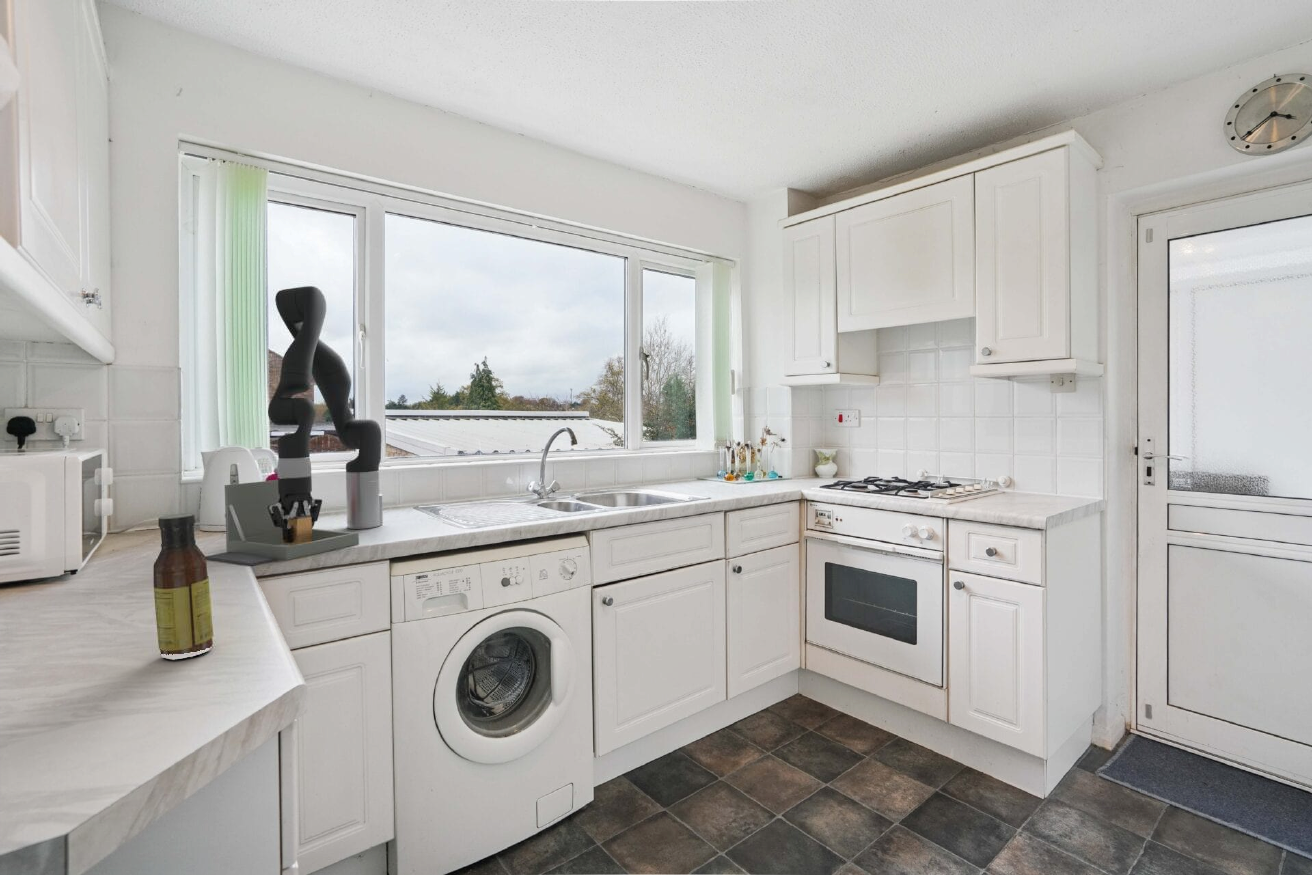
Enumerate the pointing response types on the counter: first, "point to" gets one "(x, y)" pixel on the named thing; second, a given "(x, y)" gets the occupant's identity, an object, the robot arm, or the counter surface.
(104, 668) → the counter surface
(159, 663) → the counter surface
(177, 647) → the sauce bottle
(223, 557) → the mat
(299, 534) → the block
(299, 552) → the case
